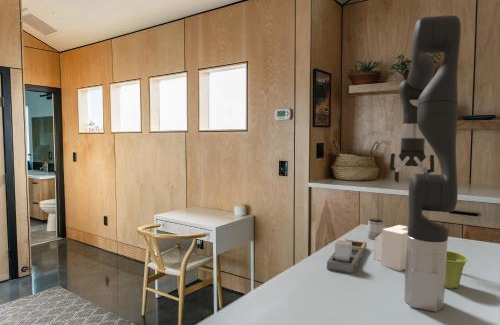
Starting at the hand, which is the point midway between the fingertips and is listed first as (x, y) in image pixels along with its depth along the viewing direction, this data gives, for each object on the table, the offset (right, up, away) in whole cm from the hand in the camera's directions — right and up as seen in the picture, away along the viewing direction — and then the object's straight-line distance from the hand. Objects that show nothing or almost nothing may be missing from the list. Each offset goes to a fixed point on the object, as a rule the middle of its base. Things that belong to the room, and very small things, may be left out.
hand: (410, 183), depth 128 cm
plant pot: (+1, -28, -22) cm, 36 cm away
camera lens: (-4, -24, +25) cm, 35 cm away
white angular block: (-8, -27, -4) cm, 28 cm away
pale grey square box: (-26, -27, -9) cm, 38 cm away
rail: (-22, -26, -1) cm, 34 cm away
